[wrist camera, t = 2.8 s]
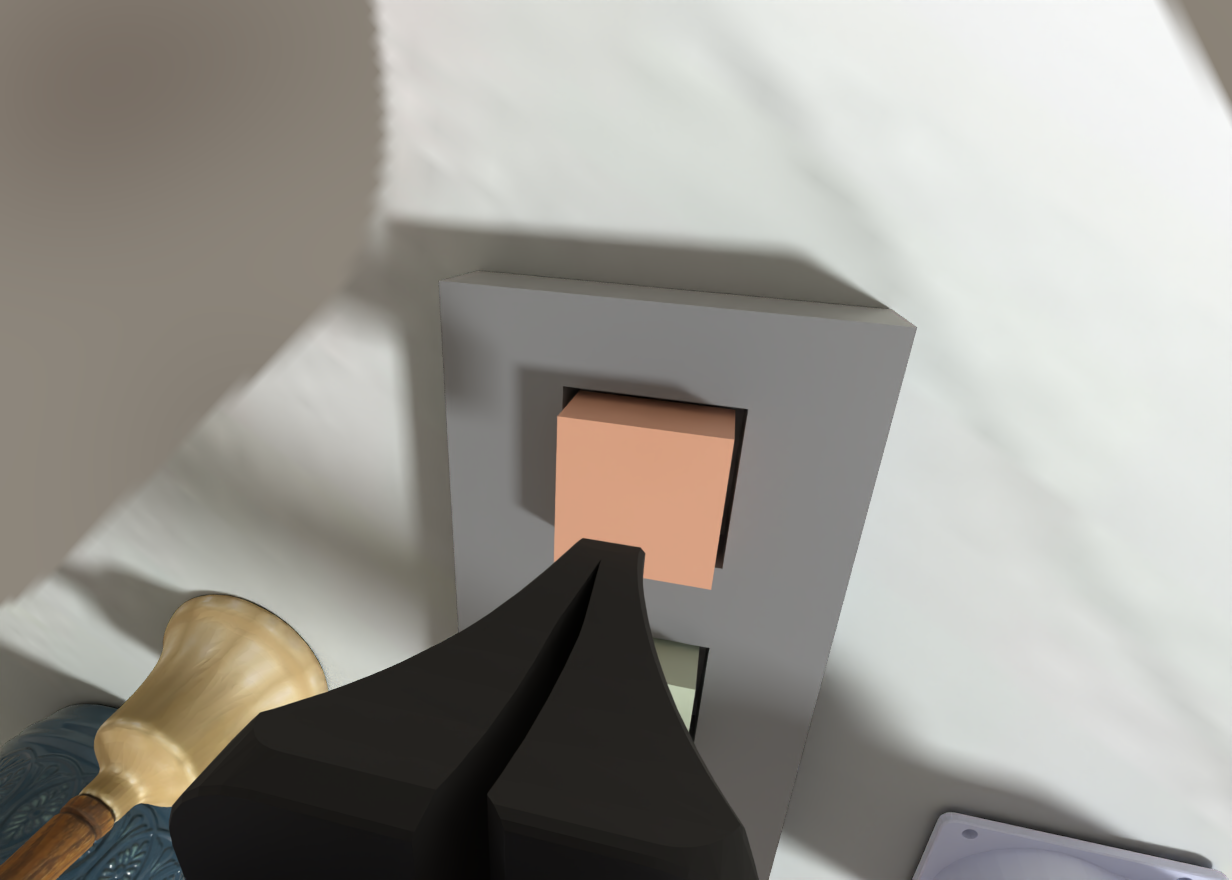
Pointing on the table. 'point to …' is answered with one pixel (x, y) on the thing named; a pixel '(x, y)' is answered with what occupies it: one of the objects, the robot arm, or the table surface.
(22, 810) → the canister
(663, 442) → the terracotta key
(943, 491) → the table surface
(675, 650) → the sage key
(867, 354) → the keypad
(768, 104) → the table surface
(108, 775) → the hand bell
